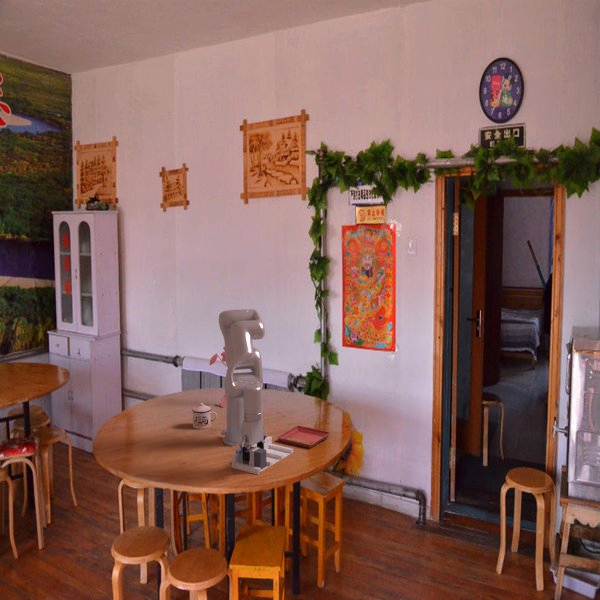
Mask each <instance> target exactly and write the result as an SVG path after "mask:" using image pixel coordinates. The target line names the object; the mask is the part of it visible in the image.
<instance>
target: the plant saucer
mask: <svg viewBox="0 0 600 600" xmlns="http://www.w3.org/2000/svg"><path fill="white" fill-rule="evenodd" d="M330 434H331V432H330V431H325V430H321V429H317V428H312V427H307V426H302V425H296V426H294V427H292V428H291V429H288V430H287V431H285V432H283V433H282V434H279V435H277V439H278V440H279V441H280V442H281V443H287V444H291V445H295V446H298V447H303V448H309V449H311V448H312V447H314V446H315V445H317V444H319V442H320V443H321V442H323V441H324V440H326V439H327V437H328V436H329V435H330ZM292 439H296V440H297V439H298V440H301V441H305V442H306V441H308V442H312V443H305V442H300V441H296V440H292ZM322 440H323V441H322Z"/></svg>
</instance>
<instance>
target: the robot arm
mask: <svg viewBox="0 0 600 600" xmlns="http://www.w3.org/2000/svg"><path fill="white" fill-rule="evenodd" d="M218 325H219V328H220V332H221V334H222V336H223V341H224V347H225V351H224V352H225V357H226V361H225V365H226V368H227V369H226V373H225V377H224V379H223V386H224V388H223V389H224V395H225V394H226V405H225V407H226V410H225V412H226V413H225V414H226V429H225V428H222V429H221V432H220V435H223V436H224V437H223V444H225V445H226V446H231V447H236V446H239V449H241V450H242V451H243V460H244V461H248V462H249V461H250V452H249V449H250V447H251V446H253V445H254V444H256V443H257V448H261V449H264V443H265V441H264V440H265V438H266V436H267V433H268V432H267V430H265V428H264V427H265V426H264V425H265V424H264V419H263V388H264V377H263V365H262V363H263V362H262V355H261V351H260V350H259V348H257V347H254V346H253V341H254V340H262V339H264V337H265V333H266V332H265V330H266V329H265V325H264V322H263V319H262V318H261V316H260V314H259V312H258V311H257V309H253V308H249V309H247V308H245V309H229V310H228V309H227V310H224V311H221V312H220V313H219V315H218ZM238 370H240V371H241V370H250V371H244V372H235V371H238ZM246 446H248V447H247V448H246Z"/></svg>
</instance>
